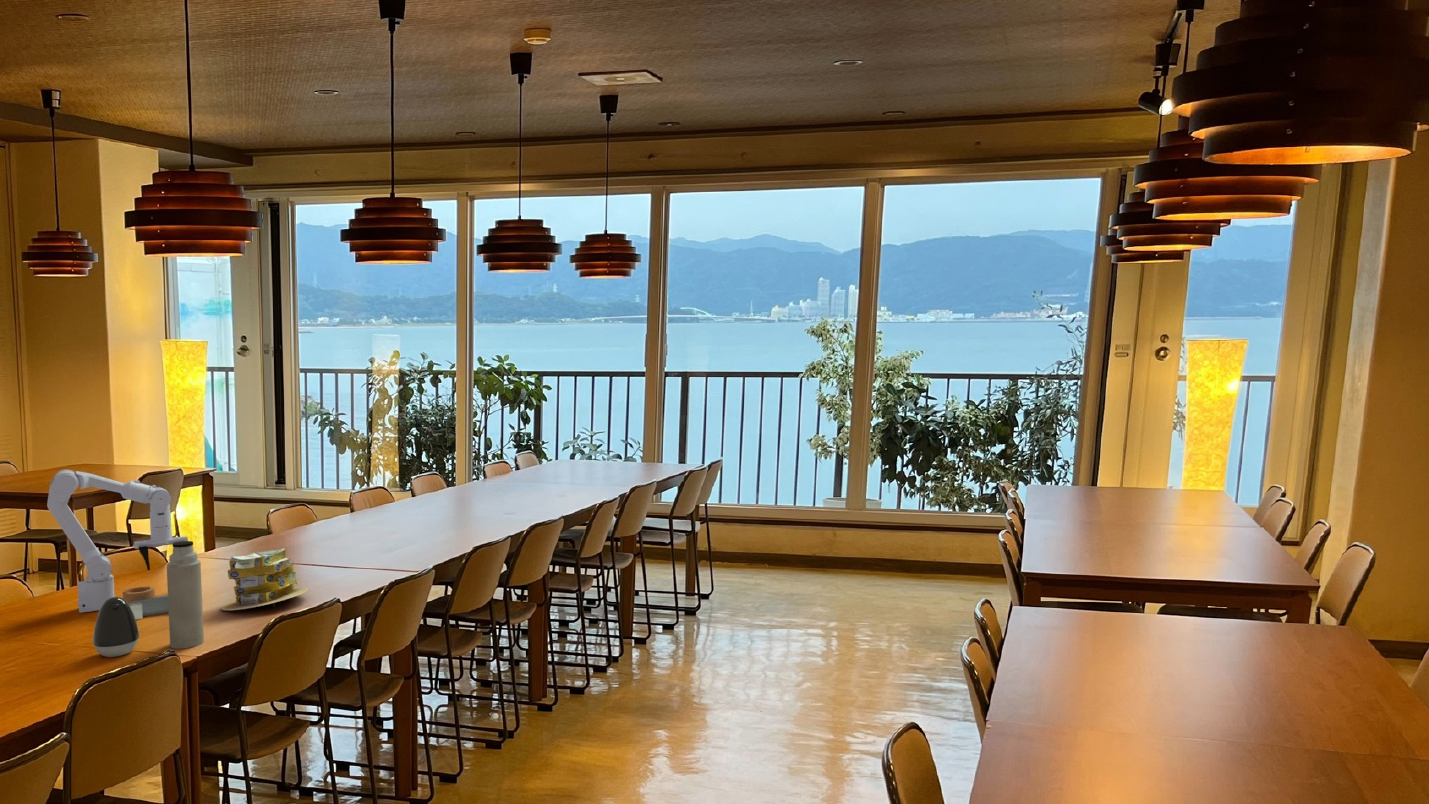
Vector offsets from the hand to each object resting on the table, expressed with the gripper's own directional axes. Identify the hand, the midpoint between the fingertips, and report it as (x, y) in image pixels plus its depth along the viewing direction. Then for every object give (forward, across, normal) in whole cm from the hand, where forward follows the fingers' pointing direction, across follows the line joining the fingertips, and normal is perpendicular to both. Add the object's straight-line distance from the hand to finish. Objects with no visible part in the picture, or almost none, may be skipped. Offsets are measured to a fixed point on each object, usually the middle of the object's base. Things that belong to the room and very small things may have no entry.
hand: (162, 567), depth 294 cm
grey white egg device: (+10, +12, +55) cm, 57 cm away
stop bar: (+10, +1, +20) cm, 22 cm away
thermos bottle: (+10, -4, +56) cm, 57 cm away
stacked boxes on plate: (+10, -27, +24) cm, 38 cm away
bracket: (+10, +2, +10) cm, 15 cm away
